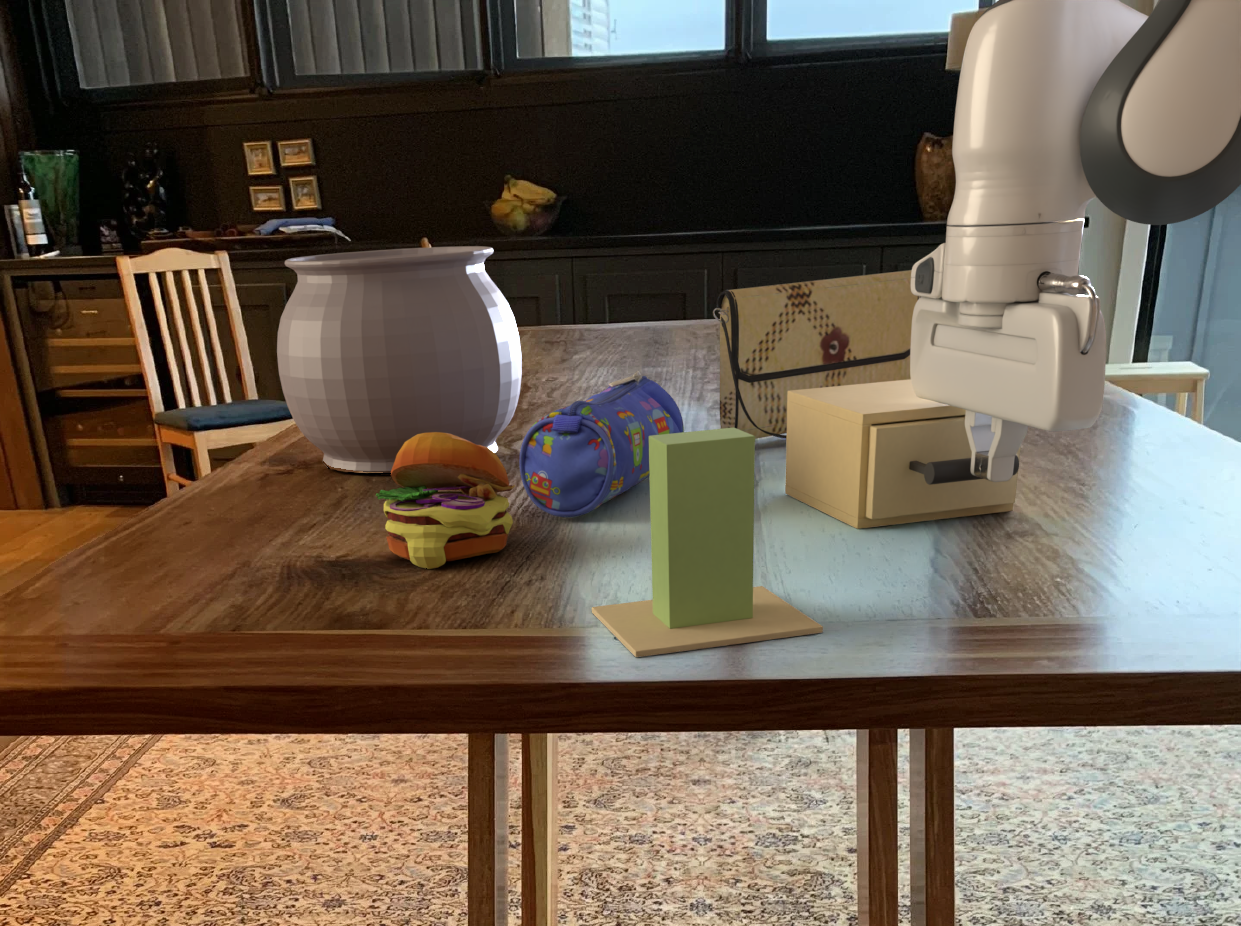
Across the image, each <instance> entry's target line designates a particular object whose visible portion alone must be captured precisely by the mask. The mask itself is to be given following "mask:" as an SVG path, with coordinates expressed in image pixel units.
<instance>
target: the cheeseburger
mask: <svg viewBox="0 0 1241 926" xmlns="http://www.w3.org/2000/svg"><path fill="white" fill-rule="evenodd" d="M390 477H391V479H392V481H393V482H394V483H395V484H396V485H397V486H400V487H398V488H392V489H389V490H384V489H380V490H379V492H376V493H375V497H377V500H381V499H384V500H385V501H384V503H383V513H384V516H385V517H386V518H387V521H386V523H385V525H384V528H385V530H386V531H387V534H388V536H387V535H386V542H387V545H388V548H389V551H390V552H392V553H393V554H394V555H396V556H397V557H399V558H401V559H404V560H408V561H410V562H411V564H413V565H415V566H416V567H419V568H421V569H426V568H427V570H433V569H437V568H439V567H441V566H444V565H445V564H446V562H453V561H457V560H462V559H467V558H473V557H479V556H483V555H486V554H487V555H488V554H494V553H498V552H501V551H502V550H503V549H504V548H505V547H506V546H507V541H508V537H509V533H510V531H511V528H512V526H513V523H514V520H513V516H512V515H511V514H510V513H509V512H508V511H507V509H509V507H510V502H509V498H507V497H505V496H504V495H501V494H498V493H501V492H502V493H504V492H511V491H512V490H513V489H514V488H515V487H516V484H510V480H509V477H508V473H507V470H506V468H505V466H504V464H503V462H502V461H501V460H500V458H499V456H498V455H497V454H496V452H495V453H494V452H493V451H491V450H490V449H489V448H487V447H484V446H482V445H476V444H474V443H472V442H470V441H467V440H465V439H463V438H460V437H458V436H455V435H452V434H449V433H441V432H429V433H421V434H417V435H415V436H414V437H412V438H411V439H409V440H407V441H406V442H405V443H404V444H403V446H402V447H401V449H400V450H399V452H398V454H397V456H396V459H395V462H394V465H393V467H392V470H391V474H390Z"/></svg>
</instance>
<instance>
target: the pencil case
mask: <svg viewBox="0 0 1241 926" xmlns="http://www.w3.org/2000/svg"><path fill="white" fill-rule="evenodd" d="M607 384H608V387H607V388H605V389H604V390H602V391H600V393H596V394H593V395H591V396H590V397H588V398H587V399H585V400H575V401H574V402H572V403H571V404H570V405H569V406H568V405H567V406H565V407H561V408H558V409H555V410H554V411H552V412H550V413H548V414H546V415H545V416H543V417H540V418H539V419H537V421H535V422H534V423H533V424H532V425H531V426H530V427H529V430H527V432H526V434H525V435H524V438H523V440H522V443H521V446H520V450H519V451H520V452H519V459H518V460H519V473H520V478H521V482H522V486H523V487H524V490H525V492H526V495H527V496H528V497H529V499H530V500H531V502H532V503H533V504H534V505H535V506H536V507H537V508H538V509H540V510H541V511H543V512H545V513H547V514H549V515H551V516H554V517H557V518H558V517H559V518H576V517H581V516H584V515H586V514H588V513H591V512H592V511H594V510H596V509H598V508H599V507H600V506H601V505H603V504H605V503H607V502H609V501H610V500H613V499H614V498H616V497H618V496H619V495H621V494H623V493H625V492H627V491H628V490H630V489H631V488H633V487H635V486H637V485H638V484H640V483H641V482H643V481H644V480H645V479H647V478H648V477H650V474H649V436H651V435H662V434H672V433H682V432H685V427H684V420H683V415H682V413H681V410H680V408H679V406H678V404H677V402H676V401H675V399H674V398H673V397H672V396H671V395H670V394H669V392H668V391H666V390H665V389H664V388H663V387H662V386H661V385H659V384H658V382H656V381H654V380H653V379H650V378H648V377H647V375H641V373H640V371H638V370H637V371H635V373H634V374H632V375H630V376H628V377H624V378H621V379H618V380H615V381H613V382H609V383H607Z"/></svg>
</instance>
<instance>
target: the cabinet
mask: <svg viewBox="0 0 1241 926" xmlns="http://www.w3.org/2000/svg"><path fill="white" fill-rule="evenodd" d="M787 400H788V401H787V433H786V435H787V437H786V438H785V439H786V444H785V450H786V451H785V481H784V482H785V484H784V485H785V486H784V495H787V496H789V497H791V498H793V499H795V500H797V501H799V502H801V503H803V504H805V505H807V506H809V507H811V508H813V509H816V510H818V511H820V512H821V513H824V514H825V515H828V516H830V517H832V518H834V519H836V520H837V521H841V522H842V523H844V524H846V525H848V526H850V527H852V528H854V529H857V530H860V529H868V528H877V527H884V526H885V527H887V526H893V525H895V526H896V525H902V524H911V523H920V522H921V523H922V522H928V521H929V522H930V521H937V520H945V519H954V518H963V517H971V516H980V515H987V514H988V515H989V514H996V513H997V514H998V513H1005V512H1013V510H1014V503H1011V504H1002V505H994V506H985V507H976V508H968V509H959V510H950V511H942V512H933V513H924V514H916V515H907V516H898V517H890V518H881V519H870V518H868V517H866V516H865V511H866V492H867V473H868V454H869V435H870V426H872V425H871V424H879V423H889V422H899V421H909V420H919V419H929V418H940V417H950V416H960V415H966V410H965V409H961V408H957V407H953V406H950V405H946V404H942V403H938V402H934V401H931V400H927V399H923V398H919V397H917V396H916V394H915V392H914V389H913V386H912V382H911V379H909V380H898V381H887V382H877V383H866V384H855V385H844V386H833V387H823V388H812V389H801V390H790V391H788V393H787Z"/></svg>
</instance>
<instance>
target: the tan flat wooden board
mask: <svg viewBox="0 0 1241 926" xmlns="http://www.w3.org/2000/svg"><path fill="white" fill-rule="evenodd" d="M591 613H592V614H593V615H594V616H595V618H597V619H598V620H599V621H600V623H602V625H603V626H605V628H606V629H608V631H609V632H610V633H612V635H613V636H614V637H615V638H616V639H617V640H618V641H619V642H620V643H621V644H622V645H623V646H624V647H625V648H626V649H627V651H629V652H630V653H631V654H632V655H633V656H634V657H635V658H643V657H650V656H658V655H666V654H673V653H680V652H687V651H695V650H703V649H711V648H718V647H725V646H734V645H740V644H747V643H755V642H762V641H771V640H777V639H785V638H793V637H801V636H809V635H815V634H822V633H824V626H823V625H822V624H820V623H819V622H817V621H815V620H814V619H812V618H811V617H809V616H808V615H806V614H805V613H804V612H802V611H801V610H799V609H798V608H797V607H795V606H794V605H792V604H790V603H789V602H787V601H785V600H784V599H782V597H780V596H778V595H777V594H775V593H774V592H772V591H770V589H767V587H765V586H763V585H758V586H753V618H749V619H741V620H733V621H726V622H718V623H710V624H703V625H695V626H687V627H679V628H672V629H670V628H668V627H667V626H666V625H665V624H664V623H663V622H662V621H661V620H659V619H658V618H657V617H656V616H655V615H654V614H653V600H652V599H645V600H637V601H630V602H629V601H628V602H622V603H613V604H605V605H598V606H592V607H591Z"/></svg>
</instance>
